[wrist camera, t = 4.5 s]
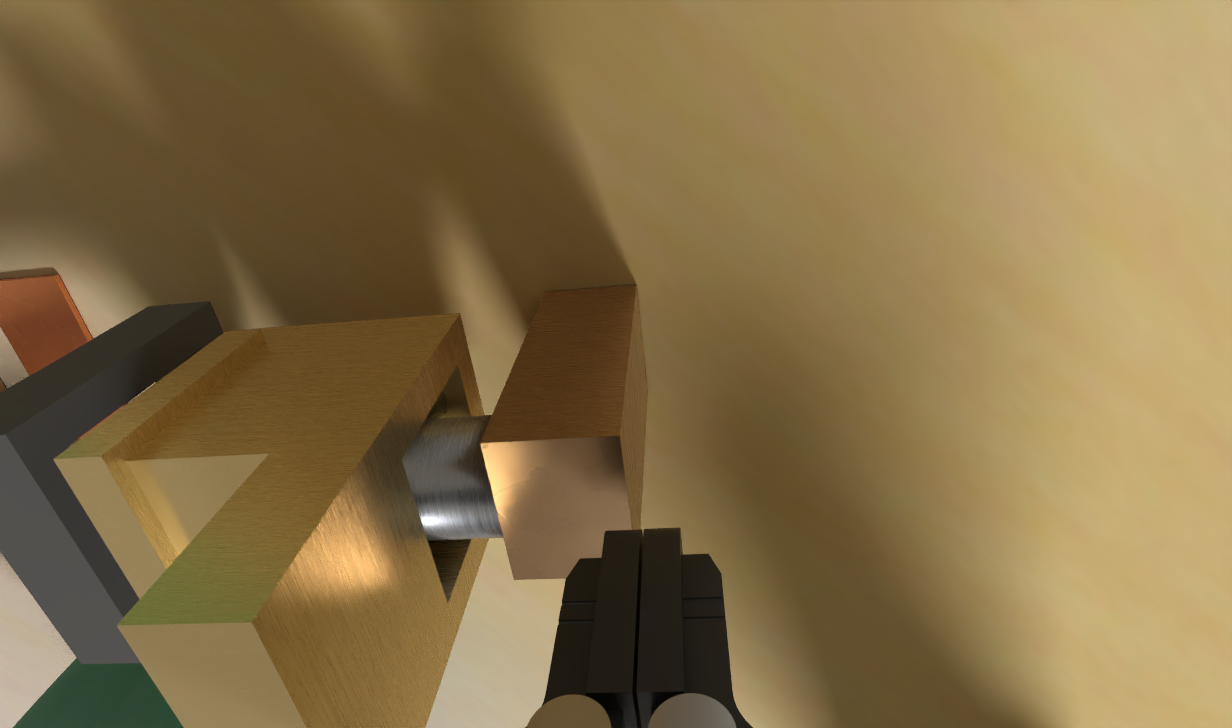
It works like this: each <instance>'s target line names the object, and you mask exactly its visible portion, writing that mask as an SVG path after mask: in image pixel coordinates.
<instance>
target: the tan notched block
mask: <svg viewBox="0 0 1232 728" xmlns="http://www.w3.org/2000/svg"><path fill="white" fill-rule="evenodd" d="M481 415H484V412H483V407H482V403H481V399H480V395H479V391H478V387H477V382H476V378H475V374H474V370H473V366H472V361H471V357H470V353H469V349H468V345H467V341H466V336H465V332H464V328H463V324H462V320H461V315H460V313H457V314H444V315H430V316H417V317H404V318H391V319H377V320H364V321H351V322H338V323H324V324H311V325H298V326H285V327H271V328H258V329H251V330H239V331H226V332H224V333H223V334H222V335H220V336H219V337H218V338H216V339H215V340H214V341H212V342H211V343H209V344H208V345H207V346H205V347H204V348H203V349H201V350H200V351H199V352H197V353H196V354H195V355H193V356H192V357H191V358H189V359H188V360H186V361H185V362H184V363H182V364H181V365H180V366H178V367H177V368H176V369H174V370H173V371H172V372H170V373H169V374H168V375H166V376H165V377H163V378H162V379H161V380H159V381H158V382H157V383H155V384H154V385H153V386H151V387H150V388H149V389H147V390H146V391H145V392H143V393H142V394H141V395H139V396H138V397H136V398H135V399H134V400H132V401H131V402H130V403H128V404H127V405H126V406H124V407H123V408H122V409H120V410H119V411H118V412H116V413H115V414H113V415H112V416H111V417H109V418H108V419H107V420H105V421H104V422H103V423H101V424H100V425H99V426H97V427H96V428H95V429H93V430H92V431H90V432H89V433H88V434H86V435H85V436H84V437H82V438H81V439H80V440H78V441H77V442H76V443H74V444H73V445H72V446H70V447H69V448H68V449H66V450H65V451H63V452H62V453H61V454H59V455H58V456H57V457H55V458H54V459H53V460H54V462H55V463H56V465H57V466H58V468H59V470H60V471H61V473H62V475H63V476H64V478H65V479H66V481H67V483H68V484H69V486H70V487H71V489H72V491H73V492H74V494H75V496H76V497H77V499H78V500H79V502H80V504H81V505H82V507H83V508H84V510H85V512H86V513H87V515H88V517H89V518H90V520H91V521H92V523H93V525H94V526H95V528H96V529H97V531H98V533H99V534H100V536H101V538H102V539H103V541H104V542H105V544H106V546H107V547H108V549H109V550H110V552H111V554H112V555H113V557H114V559H115V560H116V562H117V563H118V565H119V567H120V568H121V570H122V571H123V573H124V575H125V576H126V578H127V580H128V581H129V583H130V584H131V586H132V588H133V589H134V591H135V592H136V594H137V596H138V597H139V599H140V600H139V601H138V602H137V603H136V604H135V605H134V606H133V607H132V609H131V610H130V611H129V612H128V613H127V614H126V615H125V616H124V618H123V619H122V620H121V621H120V622H119V623H118V624H117V627H118V629H119V630H120V632H121V633H122V635H123V636H124V638H125V639H126V641H127V642H128V644H129V645H130V647H131V648H132V650H133V651H134V653H135V654H136V656H137V657H138V659H139V661H140V662H141V664H142V665H143V667H144V668H145V670H146V671H147V673H148V674H149V676H150V677H151V679H152V680H153V682H154V683H155V685H156V686H157V688H158V689H159V691H160V692H161V694H162V695H163V697H164V698H165V700H166V702H167V703H168V705H169V706H170V708H171V709H172V711H173V712H174V714H175V715H176V717H177V718H178V720H179V721H180V723H181V724H182V726H183V727H184V728H425V727H426V724H427V721H428V718H429V715H430V712H431V709H432V706H433V703H434V700H435V697H436V694H437V691H438V689H439V686H440V683H441V680H442V677H443V674H444V671H445V668H446V665H447V662H448V659H449V656H450V653H451V650H452V647H453V644H454V641H455V638H456V635H457V632H458V629H459V626H460V623H461V620H462V617H463V614H464V611H465V608H466V605H467V602H468V599H469V596H470V593H471V590H472V587H473V584H474V581H475V578H476V575H477V572H478V569H479V566H480V563H481V560H482V557H483V554H484V551H485V548H486V545H487V542H488V540H489V538H481V539H454V540H427V537H426V534H425V531H424V528H423V525H422V522H421V518H420V515H419V512H418V509H417V506H416V503H415V500H414V497H413V493H412V490H411V487H410V484H409V481H408V478H407V475H406V472H405V468H404V465H403V462H402V458H403V457H404V455H405V453H406V451H407V450H408V448H409V446H410V445H411V443H412V441H413V439H414V438H415V436H416V434H417V433H418V431H419V429H420V427H421V426H422V424H423V422H424V421H425V419H429V418H446V417H464V416H481Z"/></svg>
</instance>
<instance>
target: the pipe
mask: <svg viewBox="0 0 1232 728" xmlns="http://www.w3.org/2000/svg"><path fill="white" fill-rule="evenodd" d="M0 327H1V328H2V330H3V332H4V333H5V335H6V337H7V339H8V340H9V342H10V344H11V345H12V347H13V349H14V350H15V352H16V354H17V355H18V357H19V359H20V360H21V362H22V364H23V365H24V367H25V369H26V370H27V372H28V374H29V375H32V374H34V373H36V372H37V371H39V370H41V369H42V368H44V367H46V366H48V365H49V364H51V363H53V362H54V361H56V360H58V359H60V358H61V357H63V356H65V355H66V354H68V353H70V352H72V351H73V350H75V349H77V348H78V347H80V346H82V345H84V344H85V343H87V342H89V341H90V340H92V337H91V335H90V333H89V331H88V329H87V328H86V326H85V324H84V322H83V320H82V318H81V316H80V314H79V312H78V311H77V309H76V307H75V305H74V303H73V301H72V299H71V297H70V295H69V294H68V292H67V290H66V288H65V286H64V284H63V282H62V280H61V279H60V277H59V275H58V274H57V275H46V276H35V277H24V278H12V279H1V280H0ZM5 390H6V387H5V386H4V384H3V383H2V381H1V379H0V393H1V392H3V391H5ZM647 395H648V391H647V381H646V371H645V361H644V352H643V342H642V332H641V322H640V312H639V303H638V293H637V285H628V286H615V287H602V288H589V289H577V290H564V291H551V292H545V293H544V295H543V297H542V300H541V302H540V304H539V307H538V309H537V311H536V314H535V316H534V318H533V321H532V323H531V325H530V328H529V330H528V332H527V335H526V337H525V339H524V342H523V344H522V346H521V349H520V351H519V353H518V356H517V358H516V360H515V363H514V365H513V367H512V370H511V372H510V374H509V377H508V379H507V381H506V384H505V386H504V388H503V391H502V393H501V395H500V398H499V400H498V402H497V405H496V407H495V409H494V412H493V414H492V415H481V416H464V417H446V418H429V419H425V421H424V422H423V424H422V426H421V427H420V429H419V431H418V433H417V434H416V436H415V438H414V439H413V441H412V443H411V445H410V446H409V448H408V450H407V451H406V453H405V455H404V457H403V458H402V462H403V465H404V468H405V472H406V475H407V478H408V481H409V484H410V487H411V490H412V493H413V497H414V500H415V503H416V506H417V509H418V512H419V515H420V518H421V522H422V525H423V528H424V531H425V534H426V537H427V540H454V539H481V538H504V542H505V546H506V550H507V554H508V558H509V562H510V566H511V570H512V574H513V578H514V580H523V579H558V578H567V576H568V575H569V574H570V572H571V571H572V569H573V568H574V566H575V565H576V563H577V562H578V560H579V559H580V558H602V549H603V541H604V534H605V531H610V530H636V529H640V527H641V508H642V489H643V470H644V452H645V433H646V414H647ZM126 405H127V403H126V404H124V405H123V406H122V407H120V408H119V409H118V410H116V411H115V412H114V413H112V414H111V415H109V416H108V417H107V418H105V419H104V420H103V421H101V422H100V423H99V424H97V425H96V426H95V427H93V428H92V429H90V430H89V431H88V432H86V433H85V434H84V435H82V436H81V437H80V438H78V439H77V440H76V441H74V442H73V443H71V444H70V445H69V446H68V448H69V447H70V446H72V445H73V444H74V443H76V442H77V441H78V440H80V439H81V438H82V437H84V436H85V435H86V434H88V433H89V432H90V431H92V430H93V429H95V428H96V427H97V426H99V425H100V424H101V423H103V422H104V421H105V420H107V419H108V418H109V417H111V416H112V415H113V414H115V413H116V412H118V411H119V410H120V409H122V408H123V407H124V406H126ZM0 556H3V554H2V553H1V552H0Z"/></svg>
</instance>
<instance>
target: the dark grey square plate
mask: <svg viewBox="0 0 1232 728" xmlns="http://www.w3.org/2000/svg"><path fill="white" fill-rule="evenodd" d="M222 334H223V331H222V328H221V326H220V324H219V321H218V319H217V316H216V314H215V312H214V309H213V307H212V305H211V302H198V303H186V304H174V305H162V306H149V307H147V308H145V309H144V310H142V311H140V312H138V313H137V314H135V315H133V316H132V317H130V318H128V319H126V320H125V321H123V322H121V323H120V324H118V325H116V326H114V327H113V328H111V329H109V330H108V331H106V332H104V333H102V334H101V335H99V336H97V337H96V338H94V339H92V340H90V341H89V342H87V343H85V344H84V345H82V346H80V347H78V348H77V349H75V350H73V351H72V352H70V353H68V354H66V355H65V356H63V357H61V358H60V359H58V360H56V361H54V362H53V363H51V364H49V365H48V366H46V367H44V368H42V369H41V370H39V371H37V372H36V373H34V374H32V375H30V376H29V377H27V378H25V379H24V380H22V381H20V382H18V383H17V384H15V385H13V386H11V387H10V388H8V389H6V390H5V391H3V392H1V393H0V552H1V553H2V554H3V556H4V557H5V558H6V560H7V561H8V563H9V564H10V565H11V567H12V568H13V570H14V571H15V572H16V574H17V575H18V577H19V578H20V579H21V581H22V582H23V583H24V585H25V586H26V588H27V589H28V590H29V592H30V593H31V595H32V596H33V597H34V599H35V600H36V601H37V603H38V604H39V606H40V607H41V608H42V610H43V611H44V613H45V614H46V615H47V617H48V618H49V620H50V621H51V622H52V624H53V625H54V626H55V628H56V629H57V631H58V632H59V633H60V635H61V636H62V638H63V639H64V640H65V642H66V643H67V645H68V646H69V647H70V649H71V650H72V651H73V653H74V654H75V656H76V657H77V658H78V660H79V661H80V663H81V664H122V663H141V662H140V661H139V659H138V657H137V656H136V654H135V653H134V651H133V650H132V648H131V647H130V645H129V644H128V642H127V641H126V639H125V638H124V636H123V635H122V633H121V632H120V630H119V629H118V627H117V624H118V623H119V622H120V621H121V620H122V619H123V618H124V616H125V615H126V614H127V613H128V612H129V611H130V610H131V609H132V607H133V606H134V605H135V604H136V603H137V602H138V601H139V600H140V599H139V597H138V596H137V594H136V592H135V591H134V589H133V588H132V586H131V584H130V583H129V581H128V580H127V578H126V576H125V575H124V573H123V571H122V570H121V568H120V567H119V565H118V563H117V562H116V560H115V559H114V557H113V555H112V554H111V552H110V550H109V549H108V547H107V546H106V544H105V542H104V541H103V539H102V538H101V536H100V534H99V533H98V531H97V529H96V528H95V526H94V525H93V523H92V521H91V520H90V518H89V517H88V515H87V513H86V512H85V510H84V508H83V507H82V505H81V504H80V502H79V500H78V499H77V497H76V496H75V494H74V492H73V491H72V489H71V487H70V486H69V484H68V483H67V481H66V479H65V478H64V476H63V475H62V473H61V471H60V470H59V468H58V466H57V465H56V463H55V462H54V460H53V459H54V458H55V457H57V456H58V455H59V454H61V453H62V452H63V451H65V450H66V449H68V446H69V445H70V444H71V443H73V442H74V441H76V440H77V439H78V438H80V437H81V436H82V435H84V434H85V433H86V432H88V431H89V430H90V429H92V428H93V427H95V426H96V425H97V424H99V423H100V422H101V421H103V420H104V419H105V418H107V417H108V416H109V415H111V414H112V413H114V412H115V411H116V410H118V409H119V408H120V407H122V406H123V405H124V404H126V403H127V402H128V401H130V400H131V399H133V398H134V397H135V396H137V395H138V394H139V393H141V392H142V391H143V390H145V389H146V388H147V387H149V386H150V385H152V384H153V383H154V382H156V383H157V382H158V381H159V380H161V379H162V378H163V377H165V376H166V375H168V374H169V373H170V372H172V371H173V370H174V369H176V368H177V367H178V366H180V365H181V364H182V363H184V362H185V361H186V360H188V359H189V358H191V357H192V356H193V355H195V354H196V353H197V352H199V351H200V350H201V349H203V348H204V347H205V346H207V345H208V344H209V343H211V342H212V341H214V340H215V339H216V338H218V337H219V336H220V335H222Z"/></svg>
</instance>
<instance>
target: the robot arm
mask: <svg viewBox="0 0 1232 728" xmlns="http://www.w3.org/2000/svg"><path fill="white" fill-rule="evenodd" d="M526 728H753V727H752V726H751V725H750V724H749V723H748V722H747V721H746V720H745V719H744V718H743V716H742V715H741V714H740V712H739V710H738V708H737V706H736V704H735V701H734V697H733V692H732V682H731V671H730V661H729V650H728V640H727V629H726V620H725V608H724V598H723V587H722V577H721V573H720V571H719V570H718V568H717V566H716V565H715V563H714V562H713V560H712V559H711V557H710V556H709V554H690V555H683V552H682V540H681V530H680V528H657V529H644V534H643V533H642V529H636V530H610V531H605V534H604V541H603V549H602V558H580V559H579V560H578V562H577V563H576V565H575V566H574V568H573V569H572V571H571V572H570V574H569V575H568V576H567V578H566V581H565V587H564V593H563V599H562V606H561V610H560V616H559V625H558V627H557V633H556V638H555V644H554V650H553V656H552V661H551V667H550V673H549V678H548V684H547V690H546V695H545V699H544V702H543V704H542V706H541V707H540V708H539V709H538V710H537V711H536V712H535V714H534V715H533V716H532V718H531V719H530V721H529V723H528V725H527V727H526Z"/></svg>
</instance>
